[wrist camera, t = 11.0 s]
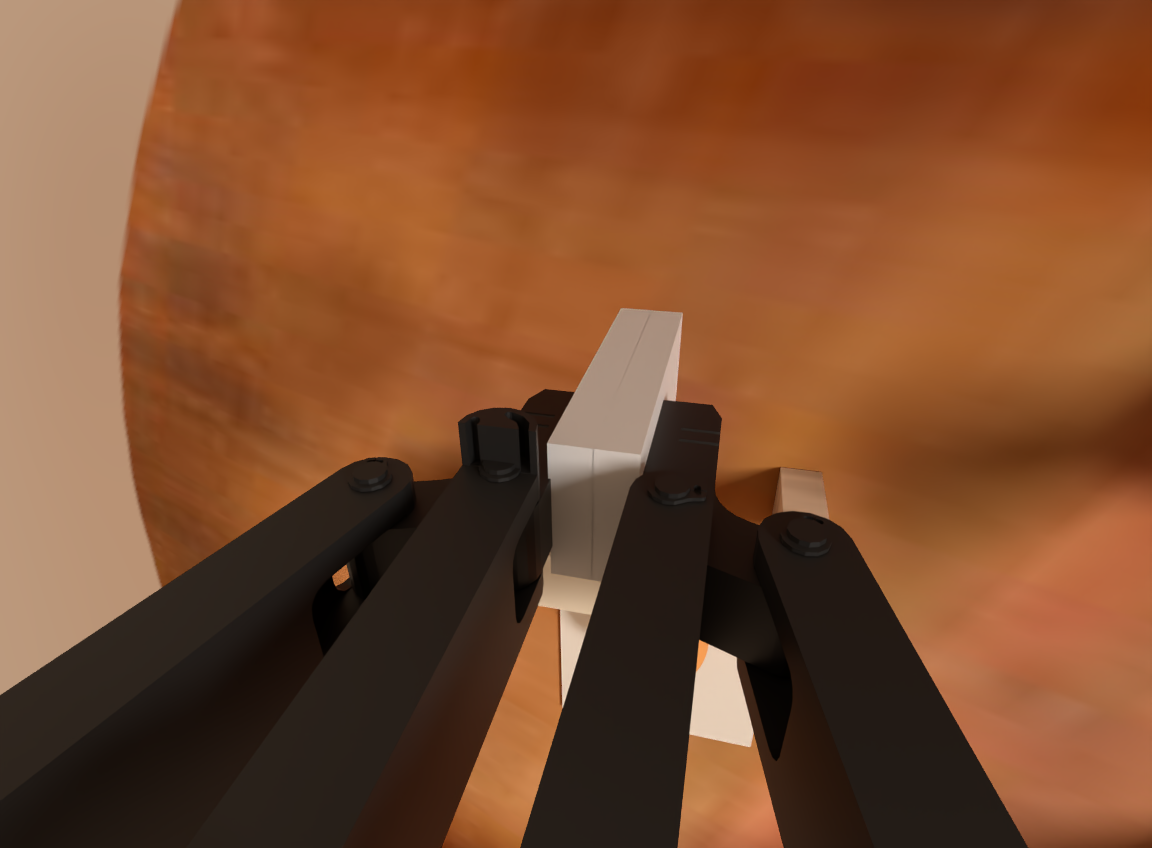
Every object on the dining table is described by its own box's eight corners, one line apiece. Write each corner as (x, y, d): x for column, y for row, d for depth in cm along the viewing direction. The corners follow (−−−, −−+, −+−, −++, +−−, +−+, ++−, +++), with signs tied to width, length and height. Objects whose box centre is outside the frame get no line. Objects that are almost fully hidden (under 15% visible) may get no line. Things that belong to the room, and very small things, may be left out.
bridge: (811, 519, 34) (827, 657, 26) (545, 483, 37) (488, 596, 29) (821, 472, 32) (841, 602, 25) (544, 438, 36) (484, 544, 28)
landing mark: (750, 744, 43) (750, 747, 43) (563, 704, 46) (562, 707, 46) (779, 601, 37) (779, 604, 37) (560, 565, 40) (559, 567, 40)
